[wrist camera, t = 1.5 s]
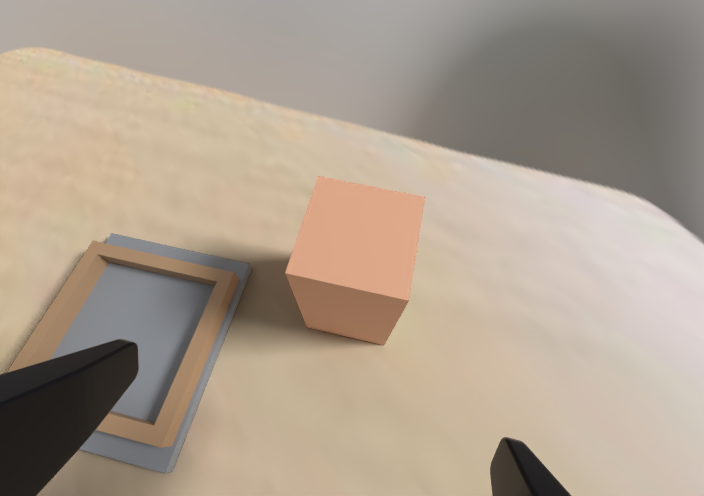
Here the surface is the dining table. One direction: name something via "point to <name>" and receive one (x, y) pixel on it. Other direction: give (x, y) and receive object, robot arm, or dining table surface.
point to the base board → (144, 337)
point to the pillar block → (355, 258)
